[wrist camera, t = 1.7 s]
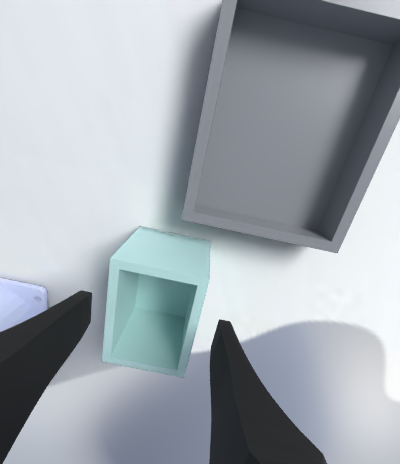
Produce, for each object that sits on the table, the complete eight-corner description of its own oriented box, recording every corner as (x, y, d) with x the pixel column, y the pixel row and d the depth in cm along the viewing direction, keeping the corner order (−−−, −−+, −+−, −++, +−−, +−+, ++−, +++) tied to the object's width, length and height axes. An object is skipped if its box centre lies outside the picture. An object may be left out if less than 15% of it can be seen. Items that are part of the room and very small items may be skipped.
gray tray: (401, 38, 12) (449, 11, 9) (318, 237, 16) (337, 253, 13) (226, -3, 12) (230, -43, 9) (185, 209, 15) (181, 219, 13)
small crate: (210, 241, 16) (209, 279, 11) (191, 319, 18) (184, 378, 14) (139, 226, 16) (110, 258, 11) (130, 307, 18) (101, 361, 14)
